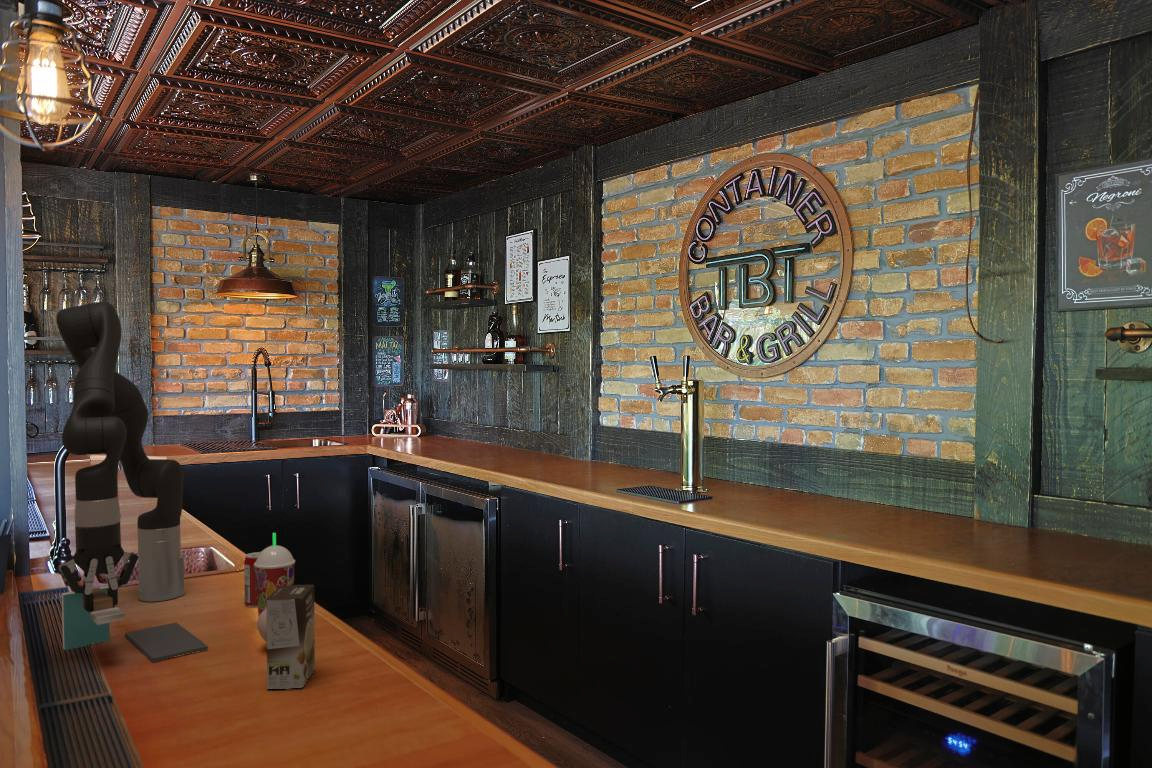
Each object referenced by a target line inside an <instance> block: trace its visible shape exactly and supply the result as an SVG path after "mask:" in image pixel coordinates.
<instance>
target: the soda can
mask: <svg viewBox="0 0 1152 768" xmlns="http://www.w3.org/2000/svg"><path fill="white" fill-rule="evenodd" d="M261 552H262V551H257V552H256V551H255V552H251V553H250V552H249V553H247V554H245V558H244V563H243V568H244V569H243V570H244V578H243V579H244V604H245V605H246V607H248V606H250V607H249V608H258V606H257V594H256V581H255V567H254V563H255V562H256V560H257V558H258V556H259V554H260V553H261Z"/></svg>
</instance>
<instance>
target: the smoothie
mask: <svg viewBox="0 0 1152 768" xmlns="http://www.w3.org/2000/svg"><path fill="white" fill-rule="evenodd" d="M260 552H261V553H260V554H259V556H258V558H257V560H256V562H255V563H254V567H255V581H256V594H257V606H258V607H257V615H258V616H257V617H258V618H259V616H260V614H261V613H262V612H263V611H264V610H265V609H266V599H267V598H268V597H269V596H270V595H271V594H272V593H273V592H274V591H276V590H277V589H278V588H279V587H280V586H291V585H295V584H294V582H295V564H296V559H294V557H293V555H292V553H291V551H289V549H287V548H286V547H284V546H282V545H277V533H276V532H272V545H269V546H267V547H265V548H264V549H263V550H261V551H260Z"/></svg>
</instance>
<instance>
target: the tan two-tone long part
mask: <svg viewBox="0 0 1152 768" xmlns="http://www.w3.org/2000/svg"><path fill="white" fill-rule="evenodd" d="M93 588H94V589H92V593H93V612H90V614H91V619H92V620H93V621H94V622H95V623H96V624H97V625H100V624H105V623H109V624H110V623H114V622H119V621H122V620H124V621H125V620H126V613H125V612H124V611H123V610H122V609H121V608H119V606H115V608H113V598H111V597H110V596H108V595H107V594H106V593H105V592H104V591H103V590H102V589H100V588H98V587H93ZM82 602H83V594H82Z"/></svg>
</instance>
